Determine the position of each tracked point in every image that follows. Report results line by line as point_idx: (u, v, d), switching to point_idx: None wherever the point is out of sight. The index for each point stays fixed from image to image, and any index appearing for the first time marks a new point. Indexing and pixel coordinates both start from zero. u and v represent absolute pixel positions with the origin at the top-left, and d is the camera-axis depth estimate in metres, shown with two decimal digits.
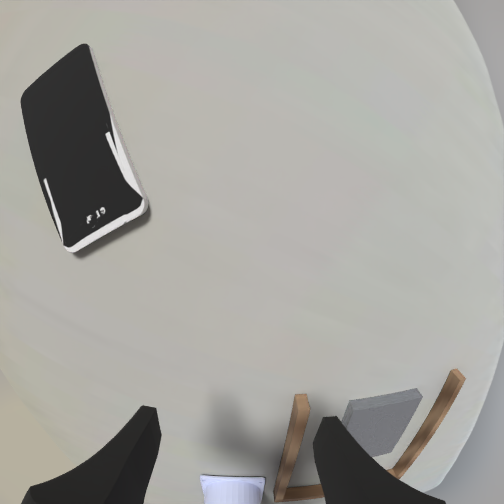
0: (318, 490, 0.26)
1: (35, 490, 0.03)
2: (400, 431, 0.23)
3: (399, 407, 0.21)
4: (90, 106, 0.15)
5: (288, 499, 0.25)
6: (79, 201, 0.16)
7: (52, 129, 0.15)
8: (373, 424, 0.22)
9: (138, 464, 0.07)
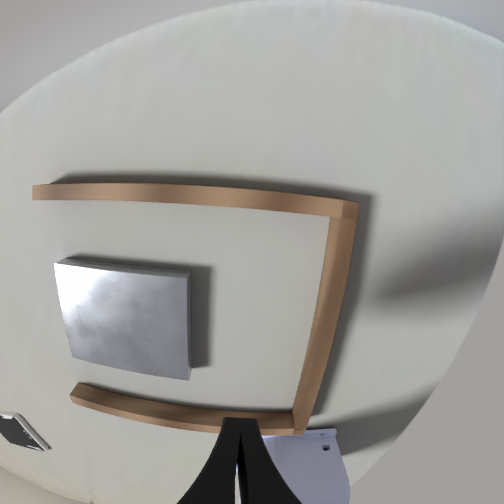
0: (304, 378, 0.19)
1: None
2: (119, 280, 0.16)
3: (68, 299, 0.17)
4: None
5: (299, 422, 0.19)
6: (26, 437, 0.23)
7: (11, 435, 0.24)
8: (94, 332, 0.17)
9: None
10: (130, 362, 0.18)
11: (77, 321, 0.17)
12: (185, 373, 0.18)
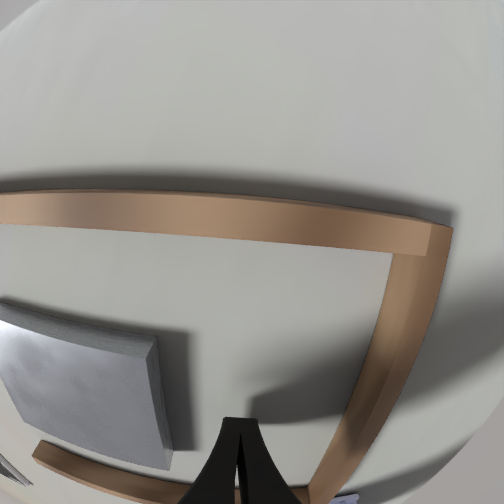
0: (329, 464, 0.11)
1: None
2: (48, 347, 0.08)
3: (0, 358, 0.09)
4: None
5: None
6: (6, 470, 0.15)
7: None
8: (38, 403, 0.09)
9: None
10: (89, 443, 0.10)
11: (16, 386, 0.09)
12: (163, 464, 0.10)
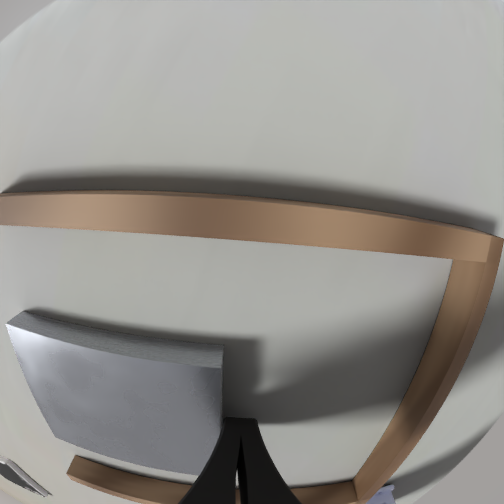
0: (382, 455, 0.11)
1: None
2: (101, 362, 0.09)
3: (33, 374, 0.09)
4: None
5: (365, 495, 0.12)
6: (23, 482, 0.16)
7: (6, 474, 0.16)
8: (78, 419, 0.10)
9: None
10: (135, 456, 0.10)
11: (51, 402, 0.09)
12: None
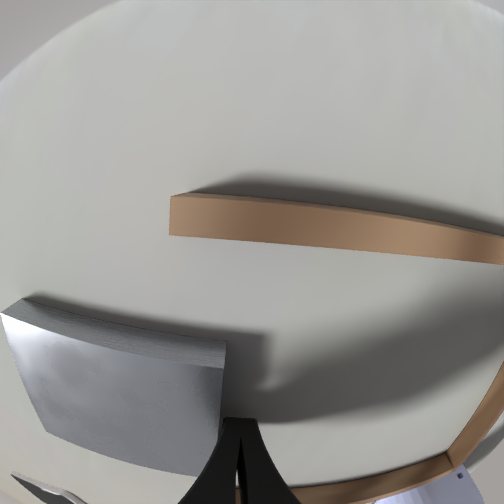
0: (480, 421, 0.12)
1: None
2: (98, 357, 0.08)
3: (26, 366, 0.09)
4: (34, 487, 0.16)
5: (460, 461, 0.12)
6: None
7: (51, 501, 0.17)
8: (71, 414, 0.09)
9: None
10: (127, 455, 0.10)
11: (44, 396, 0.09)
12: None
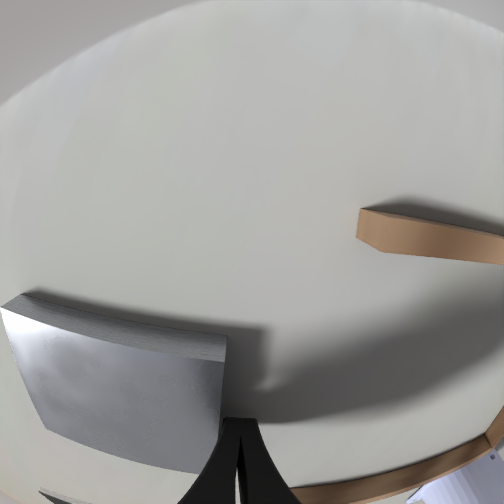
0: None
1: None
2: (98, 352, 0.08)
3: (26, 362, 0.09)
4: None
5: (498, 441, 0.12)
6: None
7: None
8: (70, 410, 0.09)
9: None
10: (127, 451, 0.10)
11: (43, 392, 0.09)
12: None
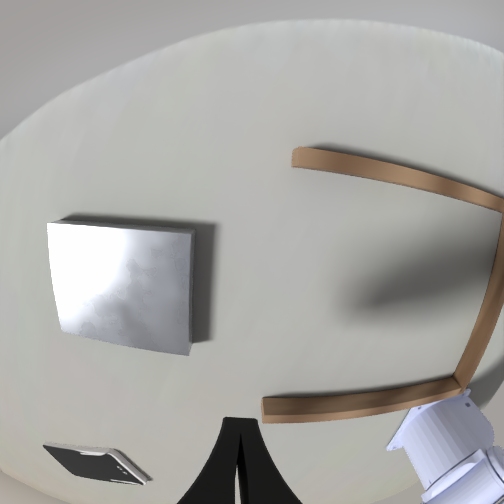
0: (476, 340, 0.19)
1: None
2: (116, 237, 0.15)
3: (60, 263, 0.15)
4: (70, 454, 0.22)
5: (466, 380, 0.19)
6: (117, 472, 0.23)
7: (85, 469, 0.23)
8: (86, 300, 0.16)
9: None
10: (124, 335, 0.17)
11: (68, 288, 0.16)
12: (185, 347, 0.17)
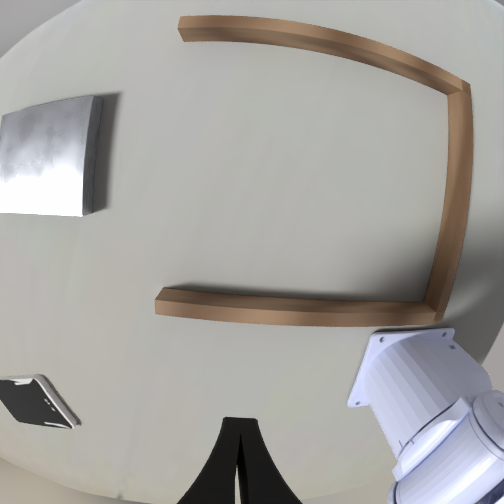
0: (445, 244, 0.17)
1: None
2: (43, 111, 0.13)
3: (3, 145, 0.14)
4: (9, 387, 0.21)
5: (441, 301, 0.17)
6: (47, 410, 0.21)
7: (23, 409, 0.22)
8: (15, 172, 0.14)
9: None
10: (36, 201, 0.15)
11: (5, 165, 0.14)
12: (79, 206, 0.15)
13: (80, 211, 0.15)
